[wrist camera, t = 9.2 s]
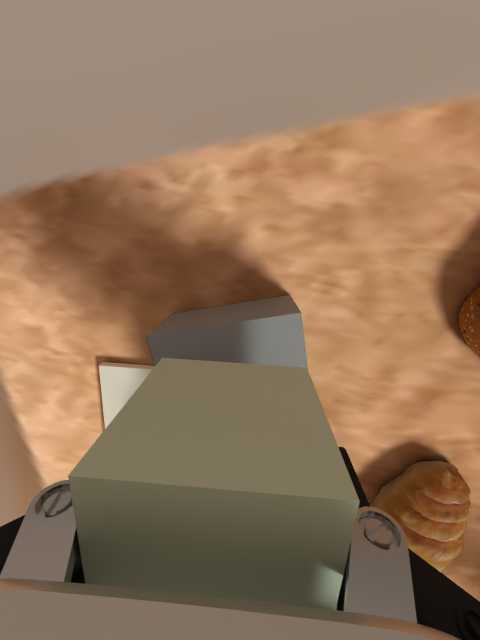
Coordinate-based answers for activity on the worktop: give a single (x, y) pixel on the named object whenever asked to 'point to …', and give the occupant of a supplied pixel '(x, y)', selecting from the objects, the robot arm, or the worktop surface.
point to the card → (119, 385)
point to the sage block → (218, 488)
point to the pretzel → (471, 321)
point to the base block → (234, 334)
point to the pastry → (429, 509)
